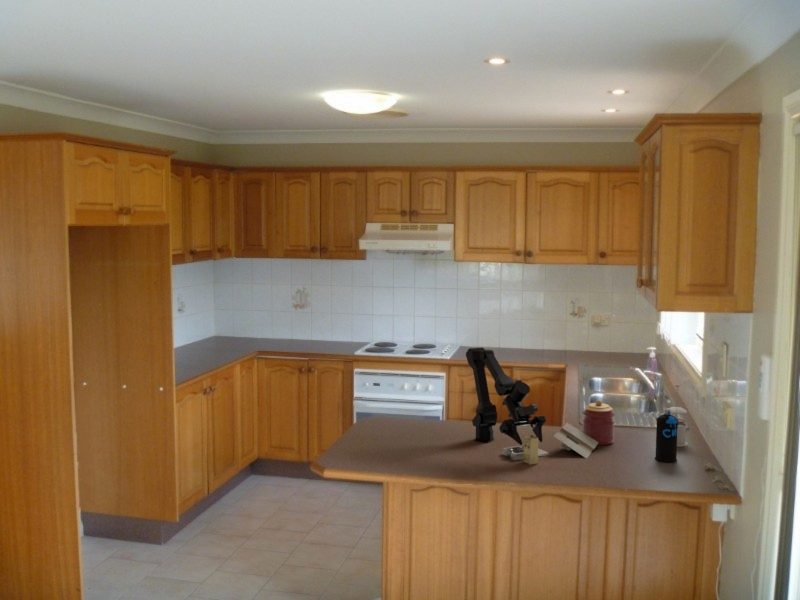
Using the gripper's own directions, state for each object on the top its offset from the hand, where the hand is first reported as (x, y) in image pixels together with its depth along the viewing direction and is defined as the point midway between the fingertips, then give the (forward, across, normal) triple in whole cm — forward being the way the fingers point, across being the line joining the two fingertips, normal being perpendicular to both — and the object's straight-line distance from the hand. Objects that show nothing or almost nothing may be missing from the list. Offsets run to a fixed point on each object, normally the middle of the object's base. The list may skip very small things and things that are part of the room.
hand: (531, 442), depth 300 cm
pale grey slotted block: (+2, +26, +10) cm, 27 cm away
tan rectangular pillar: (+5, 0, +6) cm, 8 cm away
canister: (-4, +42, +15) cm, 45 cm away
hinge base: (-1, +4, +12) cm, 13 cm away
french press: (+8, +70, +4) cm, 70 cm away
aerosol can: (+19, +49, -8) cm, 54 cm away
